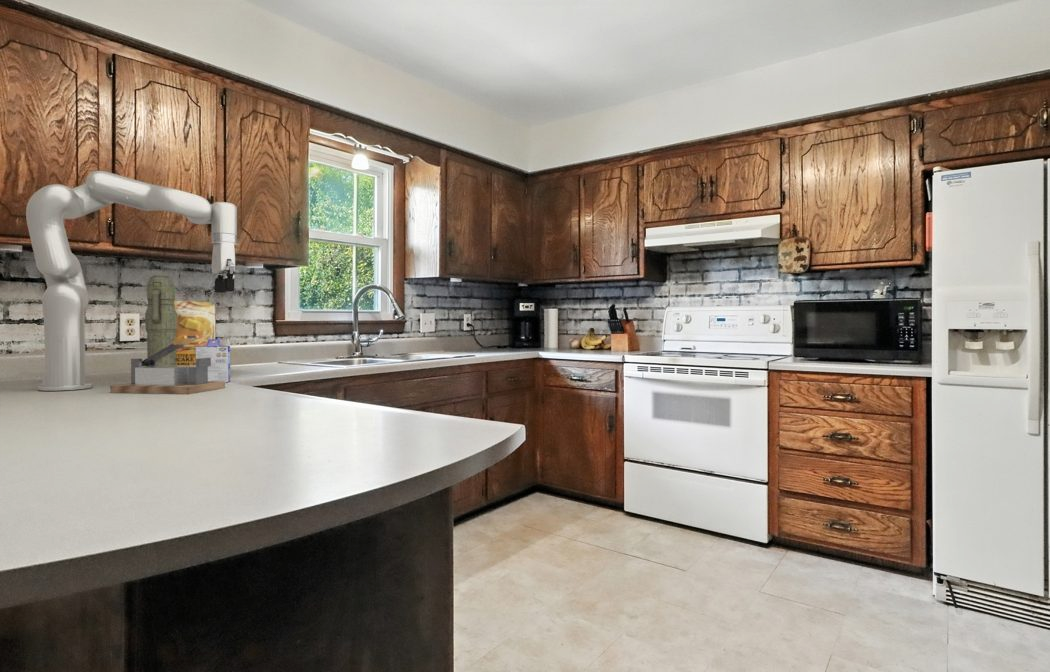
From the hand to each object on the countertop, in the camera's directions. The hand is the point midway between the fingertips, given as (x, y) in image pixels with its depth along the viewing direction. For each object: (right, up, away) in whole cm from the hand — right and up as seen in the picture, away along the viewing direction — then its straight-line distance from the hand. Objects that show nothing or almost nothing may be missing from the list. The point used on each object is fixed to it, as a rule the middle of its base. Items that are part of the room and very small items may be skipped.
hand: (224, 291), depth 195 cm
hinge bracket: (-12, -29, -23) cm, 38 cm away
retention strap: (-5, -20, -24) cm, 31 cm away
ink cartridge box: (-4, -30, +1) cm, 31 cm away
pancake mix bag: (-19, -30, +11) cm, 37 cm away
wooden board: (-4, -31, -24) cm, 39 cm away
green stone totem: (-18, -30, -4) cm, 36 cm away
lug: (+6, -29, -25) cm, 38 cm away
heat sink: (-4, -29, -24) cm, 37 cm away
